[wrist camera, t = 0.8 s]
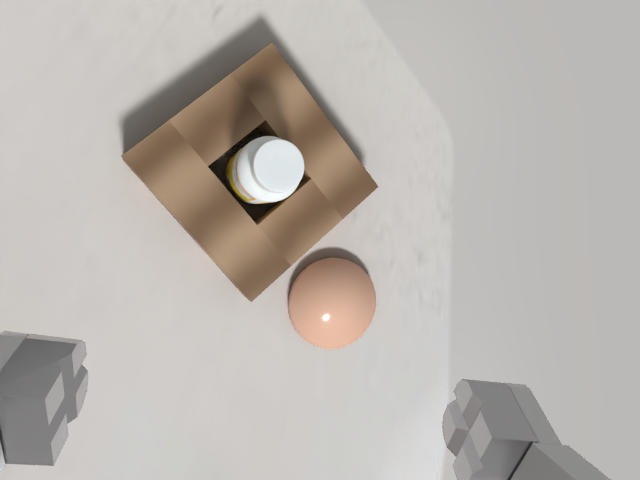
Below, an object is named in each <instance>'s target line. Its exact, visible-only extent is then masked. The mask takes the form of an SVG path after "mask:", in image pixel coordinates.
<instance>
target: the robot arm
mask: <svg viewBox="0 0 640 480" xmlns="http://www.w3.org/2000/svg"><path fill="white" fill-rule="evenodd" d="M86 355H87V354H86V345H85V342H84V341H82V340H76V339H68V338H60V337H52V336H44V335H37V334H24V333H16V332H9V331H4V332H2V333H0V471H1V470H2V469H3V468H4V467H6V464H25V465H49V466H54V464H55V462H56V460H57V458H58V456H59V454H60V452H61V450H62V448H63V446H64V444H65V442H66V440H67V437H68V427H67V424H68V423H69V422H71V421H72V420H74V419H75V418H77V417H78V414H79V412H80V410H81V408H82V406H83V403H84V399H85V396H86V392H87V385H88V371H87V369H86V368H85V367H84V366H83V365H82V362H83V361H84V359H85V357H86ZM454 393H455V396H456V398H457V399H456V400H454V401H453V402H451V403H450V404H448V405H447V408H446V410H445V413H444V415H443V426H442V428H443V436H444V440H445V443H446V446H447V448H448V449H449V450H450V451H451V452H452V453H453V454H454V455H455V456H456V459H455V461H454V463H453V468H454V471H455V474H456V477H457V480H610V479H609V478H608V477H607V476H605V475H604V474H603V473H602V472H600V471H599V470H598V469H597V468H596V467H594V466H593V465H592V464H591V463H589V462H588V461H587V460H585V459H584V458H583V457H582V456H581V455H579V454H578V453H577V452H576V451H574V450H573V449H572V448H570V447H569V446H566V445H562V444H561V442H560V440H559V439H558V437H557V436H556V434H555V432H554V430H553V428H552V427H551V425H550V423H549V421H548V420H547V418H546V416H545V415H544V413H543V411H542V409H541V407H540V406H539V404H538V402H537V400H536V399H535V397H534V395H533V394H532V392H531V390H530V389H529V388H528V387H527V386H526V385H521V384H511V383H498V382H488V381H476V380H466V379H462V380H461V381H459V382H458V383H457V385H456V388H455V390H454Z"/></svg>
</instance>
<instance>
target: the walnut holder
mask: <svg viewBox="0 0 640 480" xmlns="http://www.w3.org/2000/svg"><path fill="white" fill-rule="evenodd" d="M257 127H258V129H259V130H260V131H261V133H262V134H263V135H264V136H274V137H278V138H281V139H283V140H286V141H289V142H291V143H292V144H294V145H295V146H296V147H297V148H298V149H299V151H300V152H301V154H302V156H303V160H304V174H303V176H302V179H301V180H300V183H299V185H298V187H297V188H296V190H295V191H294V192H293V193H292V194H291V195H290V196H288V197H287V198H285V199H283V200H280V201H277V202H276V203H275V204H273V205H272V206H271V207H270V208H269V209H268V210H266V211H265V212H264V213H263V214H262V215H261V216H259V217H258V218H257V219H256V220H255V221H253V220H252V218H251V217H250V216H249V215H248V214H247V212H246V211H245V210H244V209H243V208H242V206H241V205H240V204H239V203H238V202H237V200H236V199H235V198H234V197H233V196H232V195H231V193H230V192H229V191H228V190H227V189H226V187H225V186H224V185H223V184H222V183H221V181H220V180H219V179H218V178H217V177H216V175H215V174H214V173H213V172H212V171H211V170H210V168H209V167H208V166H210V165H211V164H212V163H213V162H215V161H216V160H217V159H218V158H220V157H221V156H222V155H223V154H225V153H226V152H227V151H228V150H230V149H231V148H232V147H233V146H235V145H236V144H237V143H238V142H240V141H241V140H242V139H243V138H245V137H246V136H247V135H248V134H250V133H251V132H252V131H253V130H255V129H256V128H257ZM122 158H123V160H124V162H125V163H126V164H127V165H128V166H129V167H130V168H131V170H132V171H133V172H134V173H135V174H136V175H137V176H138V177H139V179H140V180H141V181H142V182H143V183H144V184H145V185H146V186H147V187H148V189H149V190H150V191H151V192H152V193H153V194H154V195H155V196H156V198H157V199H158V200H159V201H160V202H161V203H162V204H163V205H164V207H165V208H166V209H167V210H168V211H169V212H170V213H171V214H172V215H173V217H174V218H175V219H176V220H177V221H178V222H179V223H180V224H181V226H182V227H183V228H184V229H185V230H186V231H187V232H188V233H189V235H190V236H191V237H192V238H193V239H194V240H195V241H196V242H197V244H198V245H199V246H200V247H201V248H202V249H203V250H204V251H205V252H206V254H207V255H208V256H209V257H210V258H211V259H212V260H213V261H214V263H215V264H216V265H217V266H218V267H219V268H220V269H221V270H222V272H223V273H224V274H225V275H226V276H227V277H228V278H229V279H230V281H231V282H232V283H233V284H234V285H235V286H236V287H237V288H238V289H239V291H240V292H241V293H242V294H243V295H244V296H245V297H246V298H247V299H249V300H250V301H251V302H252V301H253V300H254V299H255V298H256V297H257V296H258V295H260V294H261V293H262V292H263V291H264V290H265V289H266V288H267V287H268V286H269V285H271V284H272V283H273V282H274V281H275V280H276V279H277V278H278V277H279V276H280V275H282V274H283V273H284V272H285V271H286V270H287V269H288V268H289V267H290V266H291V265H293V264H294V263H295V262H296V261H297V260H298V259H299V258H300V257H301V256H303V255H304V254H305V253H306V252H307V251H308V250H309V249H310V248H311V247H312V246H314V245H315V244H316V243H317V242H318V241H319V240H320V239H321V238H322V237H323V236H325V235H326V234H327V233H328V232H329V231H330V230H331V229H332V228H333V227H334V226H336V225H337V224H338V223H339V222H340V221H341V220H342V219H343V218H344V217H345V216H347V215H348V214H349V213H350V212H351V211H352V210H353V209H354V208H355V207H357V206H358V205H359V204H360V203H361V202H362V201H363V200H364V199H365V198H366V197H368V196H369V195H370V194H371V193H372V192H373V191H374V190H375V189H376V188H377V187H378V186H377V184H376V183H375V182H374V180H373V179H372V178H371V176H370V175H369V173H368V172H367V171H366V169H365V168H364V167H363V165H362V164H361V163H360V161H359V160H358V159H357V157H356V156H355V155H354V153H353V152H352V150H351V149H350V148H349V146H348V145H347V144H346V142H345V141H344V140H343V138H342V137H341V136H340V134H339V133H338V131H337V130H336V129H335V127H334V126H333V125H332V123H331V122H330V121H329V119H328V118H327V117H326V115H325V114H324V113H323V111H322V110H321V108H320V107H319V106H318V104H317V103H316V102H315V100H314V99H313V98H312V96H311V95H310V94H309V92H308V91H307V89H306V88H305V87H304V85H303V84H302V83H301V81H300V80H299V79H298V77H297V76H296V75H295V73H294V72H293V71H292V69H291V68H290V66H289V65H288V64H287V62H286V61H285V60H284V58H283V57H282V56H281V54H280V53H279V52H278V50H277V49H276V48H275V46H274V45H273V43H270V44H269V45H268V46H266V47H265V48H264V49H262V50H261V51H260V52H258V53H257V54H256V55H254V56H253V57H252V58H250V59H249V60H248V61H246V62H245V63H244V64H243V65H241V66H240V67H239V68H237V69H236V70H235V71H233V72H232V73H231V74H229V75H228V76H227V77H225V78H224V79H223V80H221V81H220V82H219V83H217V84H216V85H215V86H213V87H212V88H211V89H209V90H208V91H207V92H205V93H204V94H203V95H201V96H200V97H199V98H197V99H196V100H195V101H193V102H192V103H191V104H190V105H188V106H187V107H186V108H184V109H183V110H182V111H180V112H179V113H178V114H176V115H175V116H174V117H172V118H171V119H170V120H168V121H167V122H166V123H164V124H163V125H162V126H160V127H159V128H158V129H156V130H155V131H154V132H152V133H151V134H150V135H148V136H147V137H146V138H144V139H143V140H142V141H140V142H139V143H138V144H136V145H135V146H134V147H133V148H131V149H130V150H129V151H127V152H126V153H125V154H123V155H122Z"/></svg>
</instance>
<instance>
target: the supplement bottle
mask: <svg viewBox="0 0 640 480" xmlns="http://www.w3.org/2000/svg"><path fill="white" fill-rule="evenodd" d="M303 174H304V160H303V156H302V154H301V152H300V151H299V149H298V148H297V147H296V146H295V145H294V144H292V143H291V142H289V141H286V140H283V139H281V138H278V137H274V136H263V137H259V138H256V139H254V140H252V141H251V142H249V143H248V144H247V145H245V146H244V147H243V148H241V149H240V150H239V151H237V152H236V153H235V154H234V155H233V156H232V157H231V158H230V160H229V161H228V164H227V166H226V171H225V178H226V183H227V186H228V188H229V190H230V191H231V193H232V194H233V195H234V196H235V197H236V198H237V199H239V200H240V201H242V202H245V203H248V204H262V203H270V202H277V201H280V200H283V199H285V198H287V197H288V196H290V195H291V194H292V193H293V192H294V191H295V190H296V188H297V187H298V185H299V183H300V180H301V179H302V176H303Z"/></svg>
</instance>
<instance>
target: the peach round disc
mask: <svg viewBox="0 0 640 480" xmlns="http://www.w3.org/2000/svg"><path fill="white" fill-rule="evenodd" d="M375 307H376V295H375V290H374V286H373V283H372V281H371V279H370V277H369V276H368V274H367V273H366V272H365V271H364V270H363V269H362V268H361V267H360V266H359V265H357V264H355V263H354V262H351V261H349V260H346V259H341V258H323V259H320V260H317V261H315V262H313V263H311V264H309V265H308V266H307V267H305V268H304V269H303V270H302V271H301V272H300V273H299V274H298V276H297V277H296V279H295V280H294V282H293V284H292V287H291V289H290V293H289V298H288V312H289V316H290V320H291V322H292V324H293V326H294V328H295V330H296V331H297V332H298V333H299V334H300V335H301V336H302V337H303V338H304V339H305V340H307V341H308V342H309V343H311V344H313V345H315V346H317V347H320V348H325V349H337V348H342V347H345V346H347V345H349V344H351V343H353V342H354V341H356V340H357V339H358V338H360V337H361V336H362V335H363V334H364V332H365V331H366V330H367V328H368V327H369V325H370V323H371V321H372V319H373V316H374V312H375Z"/></svg>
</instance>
